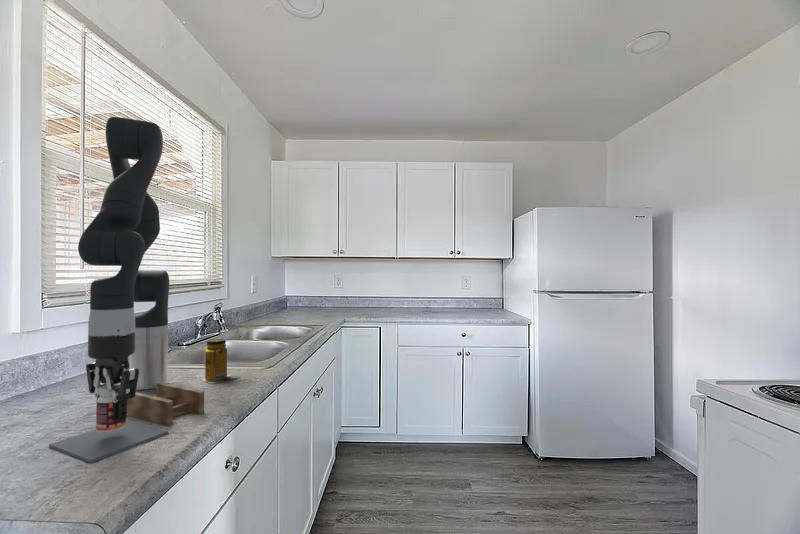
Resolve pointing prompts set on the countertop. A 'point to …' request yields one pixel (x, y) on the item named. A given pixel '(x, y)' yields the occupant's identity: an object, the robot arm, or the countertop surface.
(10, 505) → the countertop surface
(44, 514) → the countertop surface
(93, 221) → the robot arm
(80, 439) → the mat
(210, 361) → the condiment
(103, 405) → the pill bottle
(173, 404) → the wooden rack
